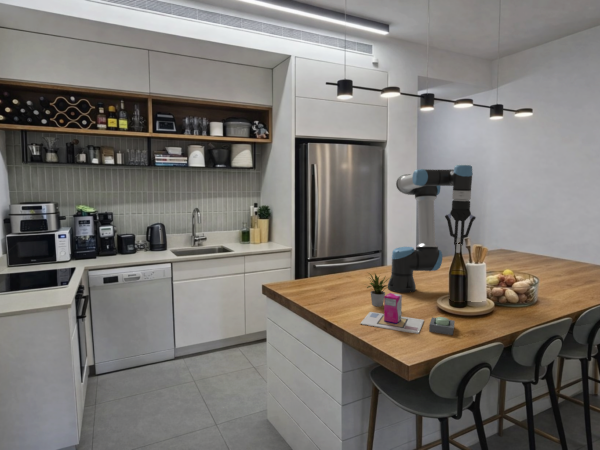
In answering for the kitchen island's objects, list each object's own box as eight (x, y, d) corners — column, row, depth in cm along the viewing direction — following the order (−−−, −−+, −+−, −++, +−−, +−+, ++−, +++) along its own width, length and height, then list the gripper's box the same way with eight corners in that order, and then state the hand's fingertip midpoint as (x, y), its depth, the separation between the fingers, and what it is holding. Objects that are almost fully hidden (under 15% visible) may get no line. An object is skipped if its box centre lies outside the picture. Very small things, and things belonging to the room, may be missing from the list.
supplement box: (388, 317, 176) (389, 292, 175) (401, 320, 173) (402, 294, 171) (383, 321, 172) (384, 295, 170) (396, 324, 168) (397, 298, 167)
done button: (436, 325, 168) (436, 316, 168) (448, 327, 166) (449, 318, 166) (434, 329, 164) (435, 320, 163) (447, 331, 161) (448, 322, 161)
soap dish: (431, 324, 171) (432, 317, 170) (454, 327, 167) (454, 320, 167) (429, 331, 163) (429, 324, 162) (452, 335, 159) (453, 328, 159)
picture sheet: (369, 312, 184) (370, 311, 184) (424, 320, 174) (424, 319, 174) (360, 324, 170) (360, 322, 170) (418, 333, 160) (418, 332, 160)
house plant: (354, 303, 197) (355, 271, 195) (372, 298, 206) (373, 267, 204) (377, 311, 187) (378, 277, 185) (395, 305, 195) (396, 272, 193)
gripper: (444, 200, 177) (441, 252, 180) (477, 201, 171) (473, 255, 175) (446, 199, 184) (443, 249, 187) (477, 200, 178) (474, 252, 181)
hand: (458, 252), depth 181 cm, fingers closed
